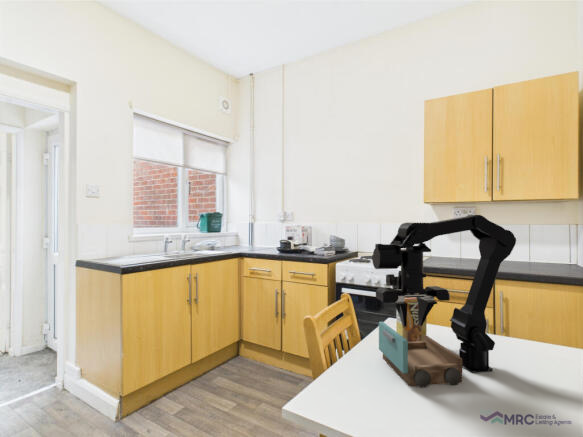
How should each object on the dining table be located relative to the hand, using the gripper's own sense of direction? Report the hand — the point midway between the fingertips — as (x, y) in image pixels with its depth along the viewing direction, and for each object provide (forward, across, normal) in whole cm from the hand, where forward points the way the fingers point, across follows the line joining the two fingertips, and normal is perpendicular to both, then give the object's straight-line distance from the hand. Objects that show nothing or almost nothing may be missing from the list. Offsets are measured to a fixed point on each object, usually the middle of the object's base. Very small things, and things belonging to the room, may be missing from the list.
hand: (412, 325), depth 87 cm
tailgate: (+9, +6, 0) cm, 11 cm away
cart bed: (+12, -2, 0) cm, 12 cm away
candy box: (+12, -9, -18) cm, 23 cm away
